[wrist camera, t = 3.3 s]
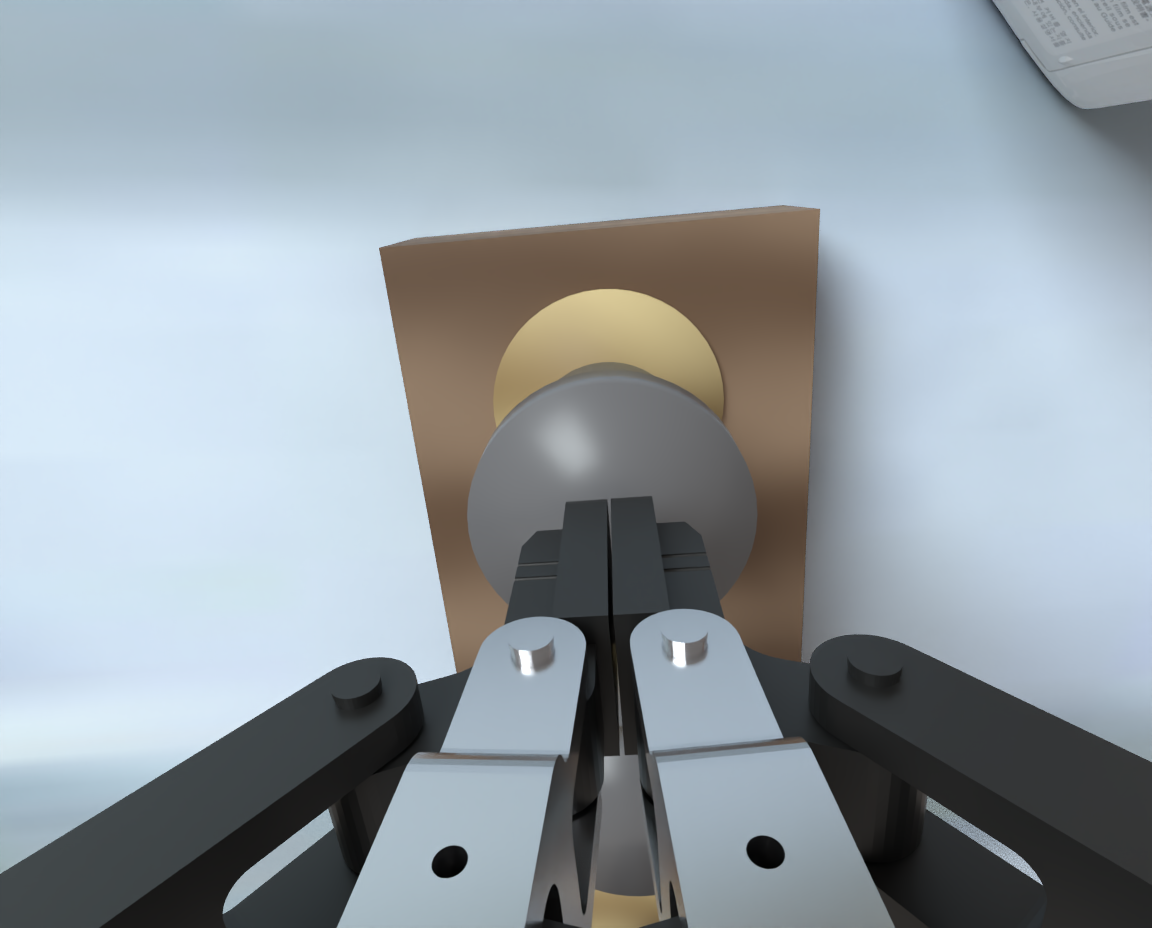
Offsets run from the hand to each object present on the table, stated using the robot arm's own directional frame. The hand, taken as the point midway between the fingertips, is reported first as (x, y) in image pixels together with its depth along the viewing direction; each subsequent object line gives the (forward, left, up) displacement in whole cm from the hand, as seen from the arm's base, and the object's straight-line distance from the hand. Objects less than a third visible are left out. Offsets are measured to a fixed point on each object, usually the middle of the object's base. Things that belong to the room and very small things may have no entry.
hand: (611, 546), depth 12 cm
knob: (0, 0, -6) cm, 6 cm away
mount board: (-10, -6, -13) cm, 17 cm away
